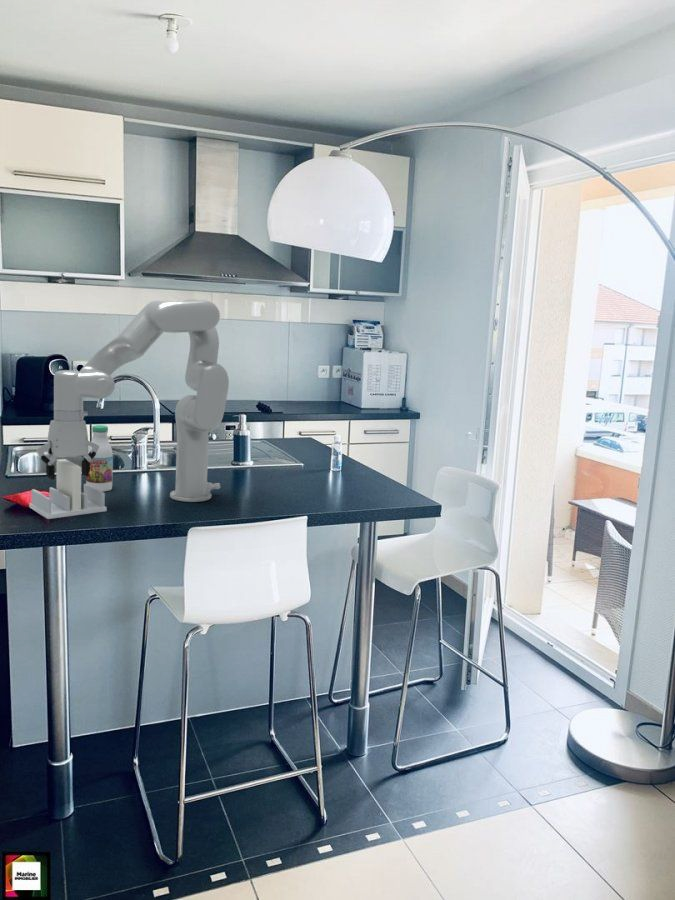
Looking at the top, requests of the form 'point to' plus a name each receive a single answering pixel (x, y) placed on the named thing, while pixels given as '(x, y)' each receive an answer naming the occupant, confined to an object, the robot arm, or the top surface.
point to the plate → (69, 482)
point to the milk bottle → (101, 460)
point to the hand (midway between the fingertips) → (68, 476)
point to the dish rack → (67, 503)
